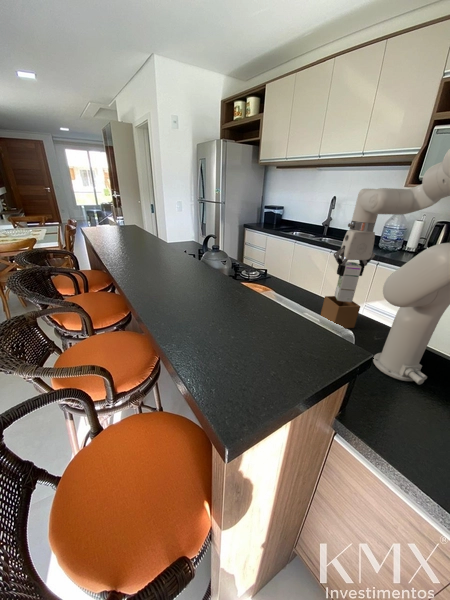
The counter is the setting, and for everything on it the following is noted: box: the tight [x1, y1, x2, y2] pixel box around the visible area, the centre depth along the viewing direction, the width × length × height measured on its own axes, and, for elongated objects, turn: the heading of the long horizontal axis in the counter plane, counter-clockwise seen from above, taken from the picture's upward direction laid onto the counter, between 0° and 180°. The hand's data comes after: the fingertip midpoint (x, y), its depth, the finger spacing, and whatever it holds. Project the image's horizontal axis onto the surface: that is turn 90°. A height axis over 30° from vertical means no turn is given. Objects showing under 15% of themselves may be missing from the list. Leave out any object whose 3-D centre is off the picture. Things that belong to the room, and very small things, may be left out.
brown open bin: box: [320, 295, 361, 329], centre depth 101 cm, size 10×9×10 cm
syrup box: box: [334, 261, 362, 302], centre depth 96 cm, size 6×6×14 cm
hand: (349, 274), depth 94 cm, fingers closed on syrup box, 7 cm apart
